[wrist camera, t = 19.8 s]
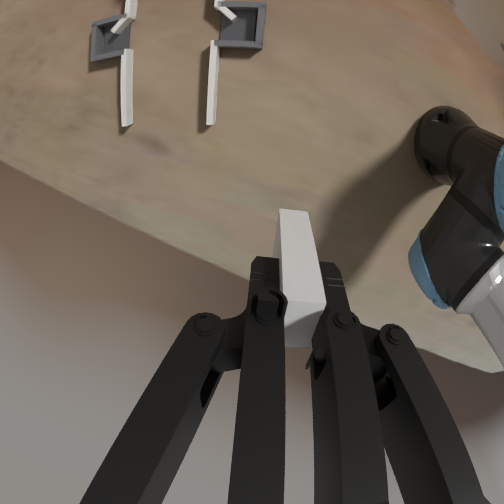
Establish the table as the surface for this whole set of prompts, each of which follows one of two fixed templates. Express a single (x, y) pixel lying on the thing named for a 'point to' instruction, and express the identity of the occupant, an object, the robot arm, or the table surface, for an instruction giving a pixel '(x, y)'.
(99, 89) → the table surface
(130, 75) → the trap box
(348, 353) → the robot arm
